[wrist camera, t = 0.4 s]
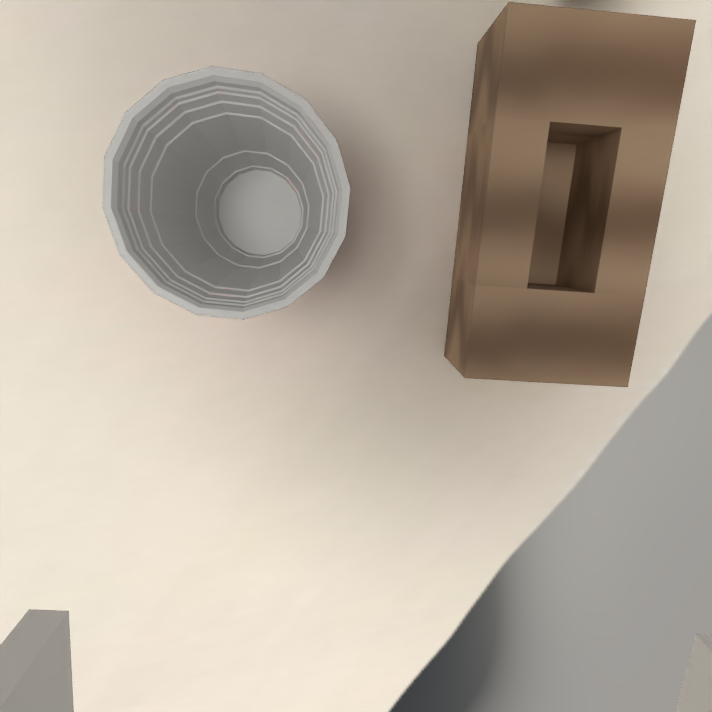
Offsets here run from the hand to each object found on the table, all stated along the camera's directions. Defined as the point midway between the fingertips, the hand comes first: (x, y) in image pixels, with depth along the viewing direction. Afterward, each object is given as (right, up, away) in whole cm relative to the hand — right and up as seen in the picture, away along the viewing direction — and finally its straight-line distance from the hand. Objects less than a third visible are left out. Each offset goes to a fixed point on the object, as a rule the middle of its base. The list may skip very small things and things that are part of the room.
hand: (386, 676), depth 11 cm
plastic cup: (-7, +16, +24) cm, 30 cm away
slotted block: (+11, +16, +24) cm, 31 cm away
